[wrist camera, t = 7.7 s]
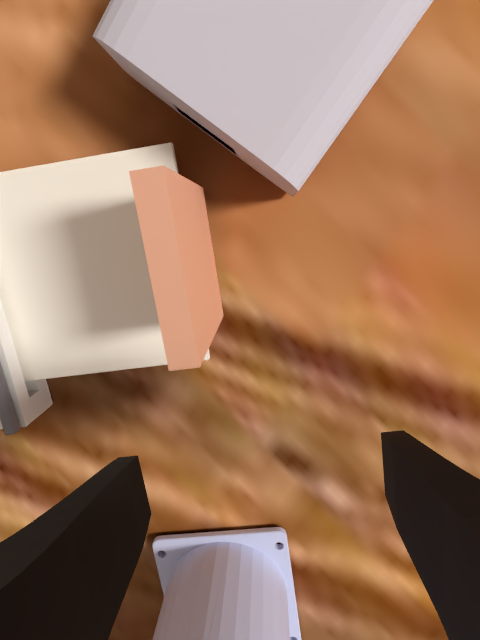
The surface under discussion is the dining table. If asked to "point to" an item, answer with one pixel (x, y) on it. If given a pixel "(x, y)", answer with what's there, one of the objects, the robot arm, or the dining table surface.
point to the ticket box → (17, 387)
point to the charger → (261, 68)
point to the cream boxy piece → (107, 265)
